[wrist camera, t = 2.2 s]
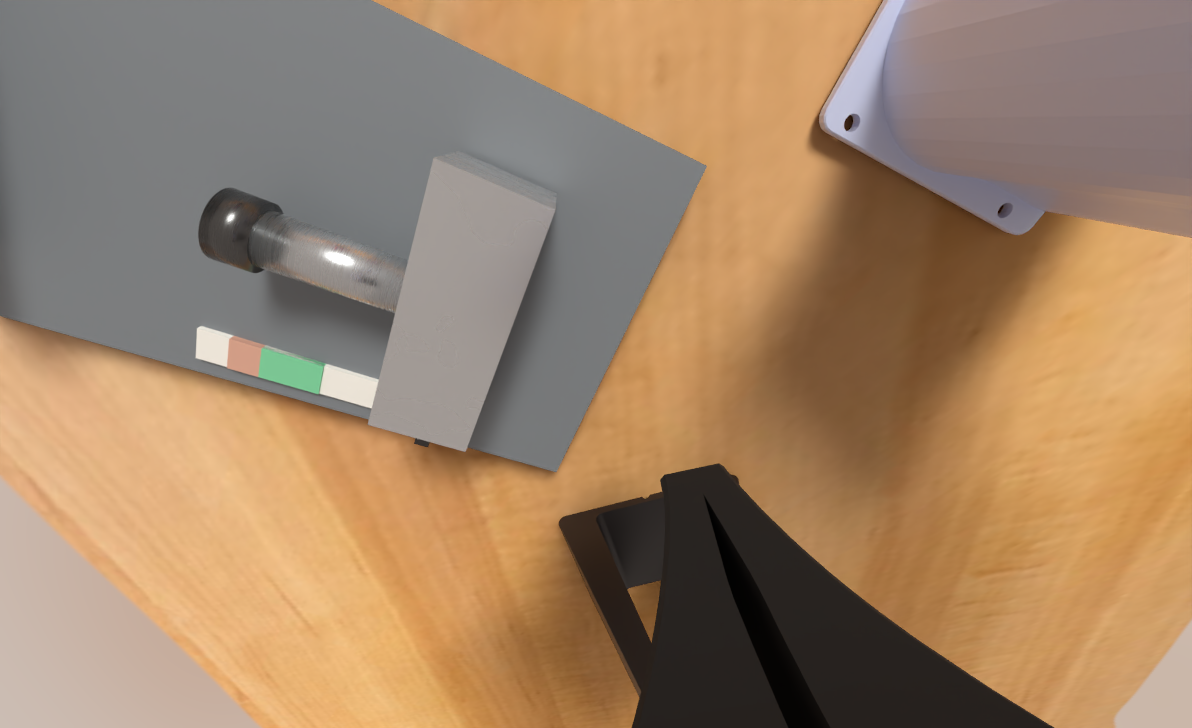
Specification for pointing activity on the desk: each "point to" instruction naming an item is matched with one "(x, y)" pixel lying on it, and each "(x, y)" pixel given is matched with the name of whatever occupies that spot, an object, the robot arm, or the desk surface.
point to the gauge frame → (306, 194)
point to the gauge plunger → (413, 284)
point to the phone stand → (620, 568)
